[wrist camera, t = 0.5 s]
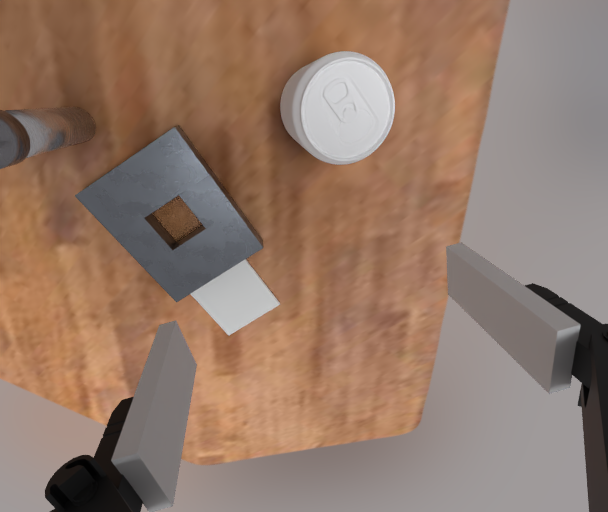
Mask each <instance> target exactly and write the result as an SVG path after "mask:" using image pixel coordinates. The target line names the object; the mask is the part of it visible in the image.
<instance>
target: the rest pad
mask: <svg viewBox="0 0 608 512" xmlns="http://www.w3.org/2000/svg"><path fill="white" fill-rule="evenodd" d="M191 295H192V296H193V297H194V298H195V299H196V301H197V302H198V303H199V304H200V305H201V306H202V307H203V308H204V309H205V310H206V311H207V313H208V314H209V315H210V316H211V317H212V318H213V319H214V320H215V321H216V322H217V323H218V324H219V326H220V327H221V328H222V329H223V330H224V331H225V332H226V333H227V334H228V335H230V334H232V333H234V332H235V331H237V330H239V329H240V328H242V327H244V326H245V325H247V324H249V323H250V322H252V321H253V320H255V319H257V318H258V317H260V316H262V315H263V314H265V313H267V312H268V311H270V310H272V309H273V308H275V307H277V306H278V305H280V302H279V301H278V300H277V298H276V297H275V296H274V294H273V293H272V292H271V291H270V289H269V288H268V287H267V285H266V284H265V283H264V282H263V280H262V279H261V278H260V276H259V275H258V274H257V273H256V271H255V270H254V269H253V267H252V266H251V265H250V264H249V262H248V261H247V260H246V259H245V260H243V261H242V262H240V263H238V264H237V265H235V266H234V267H232V268H230V269H229V270H227V271H226V272H224V273H222V274H221V275H219V276H218V277H216V278H215V279H213V280H211V281H210V282H208V283H207V284H205V285H203V286H202V287H200V288H199V289H197V290H195V291H194V292H192V293H191Z"/></svg>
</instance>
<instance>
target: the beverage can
mask: <svg viewBox="0 0 608 512" xmlns="http://www.w3.org/2000/svg"><path fill="white" fill-rule="evenodd" d="M280 112H281V118H282V121H283V124H284V126H285V128H286V130H287V132H288V133H289V134H290V136H291V137H292V138H293V139H294V140H295V141H296V142H298V143H299V144H300V145H301V146H302V147H303V148H304V149H306V150H307V151H308V152H309V153H310V154H311V155H313V156H314V157H316V158H317V159H319V160H321V161H324V162H326V163H330V164H336V165H344V164H351V163H355V162H357V161H360V160H362V159H364V158H366V157H367V156H369V155H370V154H371V153H373V152H374V151H375V150H376V149H377V148H378V147H379V146H380V145H381V143H382V142H383V141H384V139H385V138H386V136H387V135H388V133H389V131H390V128H391V126H392V123H393V119H394V112H395V100H394V94H393V90H392V87H391V84H390V82H389V79H388V77H387V76H386V74H385V72H384V71H383V70H382V68H381V67H380V66H379V65H378V64H377V63H376V62H374V61H373V60H372V59H370V58H369V57H367V56H365V55H362V54H360V53H356V52H350V51H341V52H335V53H331V54H328V55H326V56H324V57H322V58H320V59H318V60H316V61H314V62H312V63H310V64H308V65H306V66H304V67H302V68H301V69H299V70H298V71H297V72H295V73H294V74H293V75H292V76H291V78H290V79H289V80H288V82H287V83H286V85H285V87H284V89H283V92H282V96H281V102H280Z"/></svg>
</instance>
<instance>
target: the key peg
mask: <svg viewBox="0 0 608 512" xmlns="http://www.w3.org/2000/svg"><path fill="white" fill-rule="evenodd" d="M95 129H96V127H95V122H94V120H93V118H92V117H91V115H90V114H89V113H88V112H86V111H85V110H83V109H81V108H78V107H59V108H41V109H24V110H6V111H2V110H0V169H1V168H5V167H8V166H12V165H15V164H18V163H20V162H22V161H23V160H24V159H25V158H28V157H32V156H35V155H39V154H42V153H46V152H49V151H53V150H57V149H60V148H64V147H67V146H71V145H75V144H78V143H82V142H85V141H88V140H90V139H91V138H92V137H93V136H94V134H95Z"/></svg>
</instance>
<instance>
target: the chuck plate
mask: <svg viewBox="0 0 608 512" xmlns="http://www.w3.org/2000/svg"><path fill="white" fill-rule="evenodd" d="M178 195H179V196H180V197H181V198H182V200H183V201H184V202H185V203H186V205H187V206H188V207H189V208H190V210H191V211H192V212H193V213H194V215H195V216H196V217H197V218H198V220H199V221H200V222H201V223H202V224H203V225H202V226H201V227H199V228H198V229H196V230H195V231H193V232H191V233H190V234H188V235H187V236H185V237H184V238H182V239H181V240H179V241H178V242H176V241H175V240H174V239H173V238H172V236H171V235H170V234H169V233H168V232H167V231H166V229H165V228H164V227H163V226H162V225H161V224H160V223H159V221H158V220H157V219H156V218H155V217H154V216H153V214H152V213H153V212H154V211H156V210H157V209H159V208H160V207H162V206H163V205H165V204H166V203H168V202H169V201H171V200H172V199H174V198H175V197H177V196H178ZM75 197H76V198H77V199H78V200H79V201H80V202H81V203H82V204H83V205H84V206H85V207H86V208H87V209H88V210H89V211H90V212H91V213H92V214H93V215H94V216H95V218H96V219H97V220H98V221H99V222H100V223H101V224H102V225H103V226H104V227H105V228H106V229H107V230H108V231H109V232H110V233H111V234H112V235H113V236H114V237H115V238H116V240H117V241H118V242H119V243H120V244H121V245H122V246H123V247H124V248H125V249H126V250H127V251H128V252H129V253H130V254H131V255H132V256H133V257H134V258H135V259H136V260H137V261H138V263H139V264H140V265H141V266H142V267H143V268H144V269H145V270H146V271H147V272H148V273H149V274H150V275H151V276H152V277H153V278H154V279H155V280H156V281H157V282H158V283H159V284H160V286H161V287H162V288H163V289H164V290H165V291H166V292H167V293H168V294H169V295H170V296H171V297H172V298H173V299H174V300H175V301H176V302H178V301H180V300H181V299H183V298H184V297H186V296H187V295H189V294H191V293H192V292H194V291H195V290H197V289H199V288H200V287H202V286H203V285H205V284H207V283H208V282H210V281H211V280H213V279H215V278H216V277H218V276H219V275H221V274H222V273H224V272H226V271H227V270H229V269H230V268H232V267H234V266H235V265H237V264H238V263H240V262H242V261H243V260H245V259H246V258H248V257H250V256H251V255H253V254H254V253H256V252H257V251H259V250H261V249H262V248H263V240H262V239H261V237H260V236H259V235H258V233H257V232H256V230H255V229H254V228H253V226H252V225H251V224H250V222H249V221H248V219H247V218H246V217H245V215H244V214H243V213H242V211H241V210H240V208H239V207H238V206H237V204H236V203H235V202H234V200H233V199H232V197H231V196H230V195H229V193H228V192H227V191H226V189H225V188H224V187H223V185H222V184H221V182H220V181H219V180H218V178H217V177H216V176H215V174H214V173H213V171H212V170H211V169H210V167H209V166H208V165H207V163H206V162H205V160H204V159H203V158H202V156H201V155H200V154H199V152H198V151H197V150H196V148H195V147H194V145H193V144H192V143H191V141H190V140H189V139H188V137H187V136H186V134H185V133H184V132H183V130H182V129H181V128H180V126H179V125H178V126H176V127H174V128H172V129H171V130H170V131H168V132H167V133H165V134H164V135H162V136H161V137H159V138H158V139H156V140H155V141H154V142H152V143H151V144H149V145H148V146H146V147H145V148H143V149H142V150H140V151H139V152H138V153H136V154H135V155H133V156H132V157H130V158H129V159H127V160H126V161H124V162H123V163H122V164H120V165H119V166H117V167H116V168H114V169H113V170H111V171H110V172H108V173H107V174H106V175H104V176H103V177H101V178H100V179H98V180H97V181H95V182H94V183H92V184H91V185H90V186H88V187H87V188H85V189H84V190H82V191H81V192H79V193H78V194H76V195H75Z"/></svg>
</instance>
